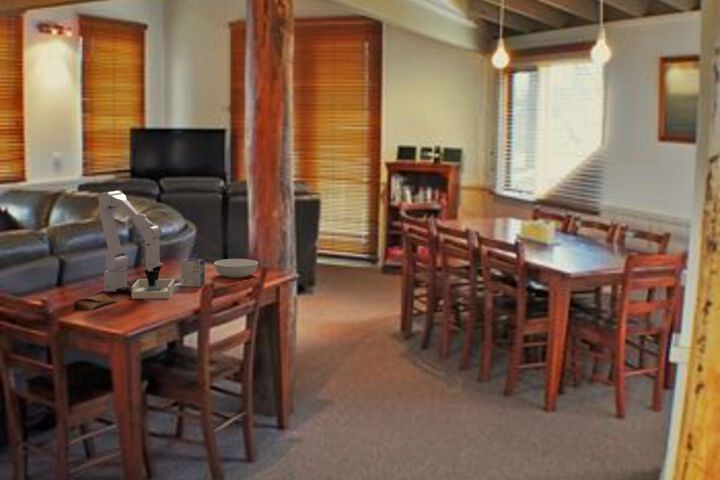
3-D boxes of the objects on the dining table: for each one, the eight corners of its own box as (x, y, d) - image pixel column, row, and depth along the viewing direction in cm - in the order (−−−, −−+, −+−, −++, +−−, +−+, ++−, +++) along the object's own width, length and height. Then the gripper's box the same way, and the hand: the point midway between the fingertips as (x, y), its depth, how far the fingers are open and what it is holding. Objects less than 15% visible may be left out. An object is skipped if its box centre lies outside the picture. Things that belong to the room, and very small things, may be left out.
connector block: (147, 295, 377) (147, 281, 376) (149, 293, 381) (149, 279, 380) (157, 295, 377) (156, 281, 376) (158, 293, 381) (158, 279, 380)
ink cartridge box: (205, 285, 398) (205, 254, 396) (201, 287, 393) (200, 256, 391) (185, 283, 400) (184, 253, 398) (180, 286, 395) (179, 255, 393)
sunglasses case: (90, 311, 348) (83, 296, 348) (79, 318, 351) (71, 303, 351) (118, 301, 365) (111, 287, 365) (107, 308, 367) (100, 294, 368)
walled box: (131, 298, 371) (131, 287, 370) (138, 290, 386) (138, 279, 386) (169, 298, 372) (169, 286, 371) (174, 290, 387) (174, 279, 387)
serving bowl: (265, 277, 416) (265, 263, 415) (225, 282, 404) (225, 268, 403) (246, 270, 433) (245, 256, 432) (207, 274, 421) (206, 260, 420)
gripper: (159, 256, 369) (160, 287, 371) (164, 250, 383) (165, 280, 386) (142, 256, 369) (143, 287, 371) (148, 250, 383) (149, 280, 385)
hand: (153, 284), depth 378 cm, fingers open, 7 cm apart
